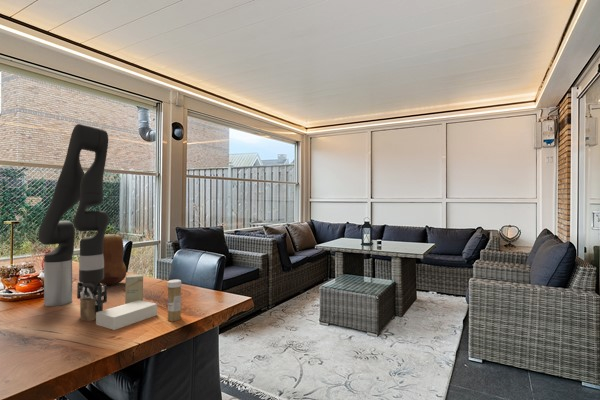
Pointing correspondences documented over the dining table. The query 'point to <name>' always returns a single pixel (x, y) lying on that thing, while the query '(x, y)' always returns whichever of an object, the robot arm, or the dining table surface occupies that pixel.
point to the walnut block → (87, 309)
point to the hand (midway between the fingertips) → (91, 313)
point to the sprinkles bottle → (174, 300)
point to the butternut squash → (113, 259)
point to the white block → (126, 314)
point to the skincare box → (134, 288)
